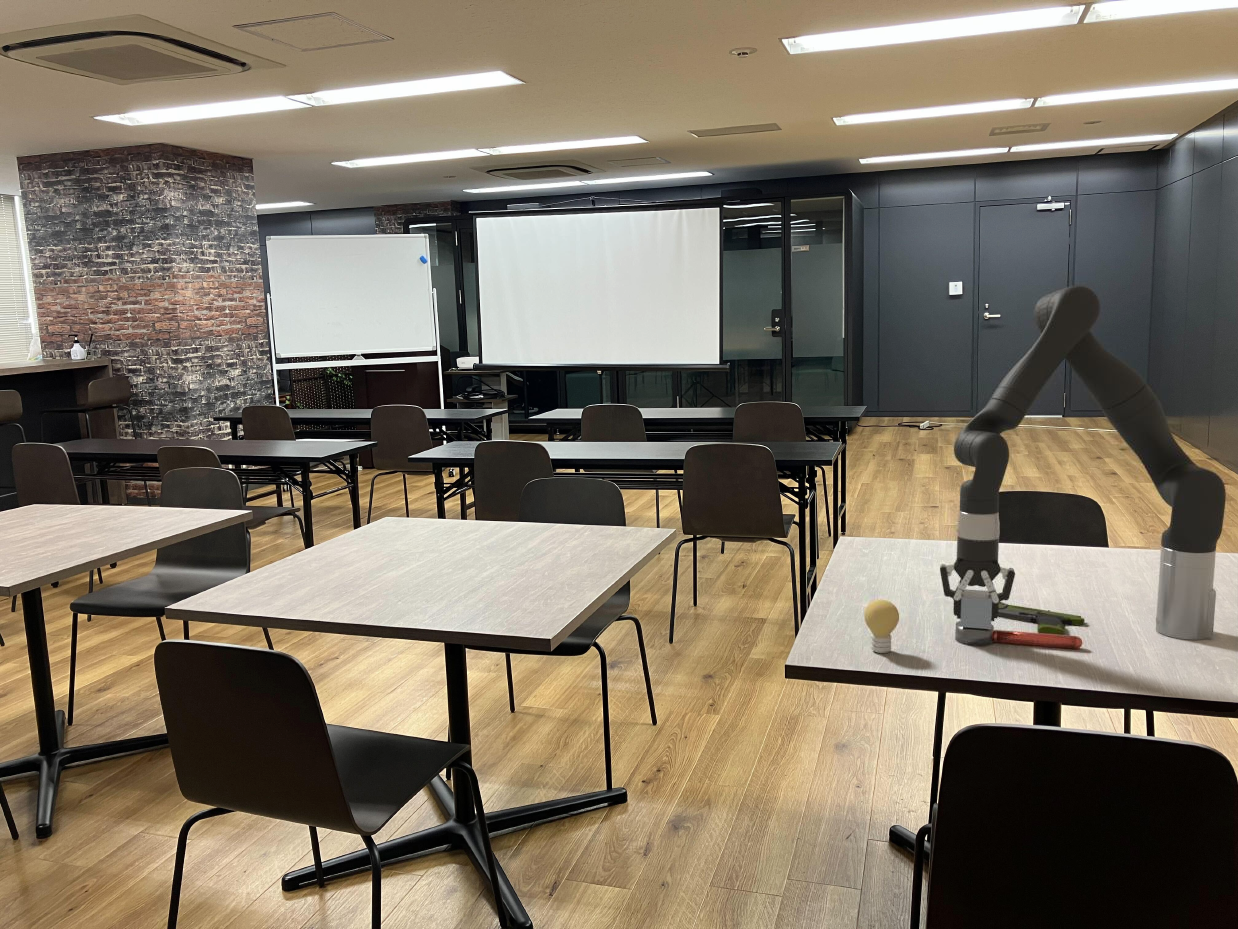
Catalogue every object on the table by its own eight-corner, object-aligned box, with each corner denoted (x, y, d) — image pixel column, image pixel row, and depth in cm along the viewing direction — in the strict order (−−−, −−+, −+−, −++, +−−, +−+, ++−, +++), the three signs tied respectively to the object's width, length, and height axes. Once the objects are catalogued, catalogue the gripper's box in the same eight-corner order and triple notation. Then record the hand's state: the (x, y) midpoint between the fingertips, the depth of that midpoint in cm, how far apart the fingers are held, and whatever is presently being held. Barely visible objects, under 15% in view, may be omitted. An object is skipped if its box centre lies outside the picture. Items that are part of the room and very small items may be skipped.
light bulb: (892, 645, 184) (893, 595, 183) (903, 656, 178) (904, 605, 177) (859, 646, 184) (860, 596, 183) (869, 657, 178) (870, 606, 176)
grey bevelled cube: (989, 620, 187) (990, 591, 186) (991, 629, 182) (992, 598, 181) (960, 618, 189) (960, 589, 188) (960, 626, 184) (961, 596, 183)
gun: (967, 625, 197) (993, 609, 208) (1064, 642, 185) (1086, 624, 196) (967, 613, 197) (993, 598, 208) (1065, 629, 184) (1086, 613, 196)
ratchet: (1079, 643, 183) (1081, 605, 182) (1084, 655, 177) (1086, 616, 175) (955, 633, 190) (956, 597, 189) (955, 644, 184) (956, 607, 183)
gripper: (1017, 531, 184) (1013, 616, 187) (938, 528, 189) (936, 610, 191) (1020, 540, 177) (1016, 627, 180) (938, 536, 182) (936, 622, 184)
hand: (975, 618), depth 185 cm, fingers closed on grey bevelled cube, 5 cm apart
